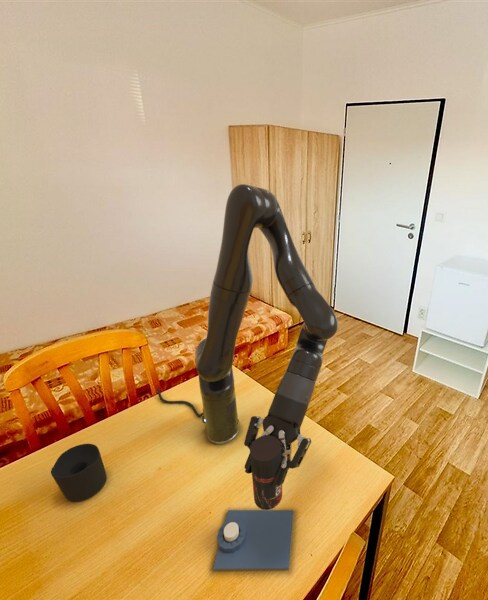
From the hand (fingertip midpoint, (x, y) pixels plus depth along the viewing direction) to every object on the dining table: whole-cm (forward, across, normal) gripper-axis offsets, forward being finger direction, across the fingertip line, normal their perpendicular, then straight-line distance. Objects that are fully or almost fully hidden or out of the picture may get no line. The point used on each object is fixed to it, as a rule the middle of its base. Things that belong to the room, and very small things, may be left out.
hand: (261, 479), depth 63 cm
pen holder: (+23, +48, -8) cm, 54 cm away
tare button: (+16, +7, -12) cm, 21 cm away
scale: (+16, +2, -15) cm, 22 cm away
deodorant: (+4, 0, -7) cm, 8 cm away
